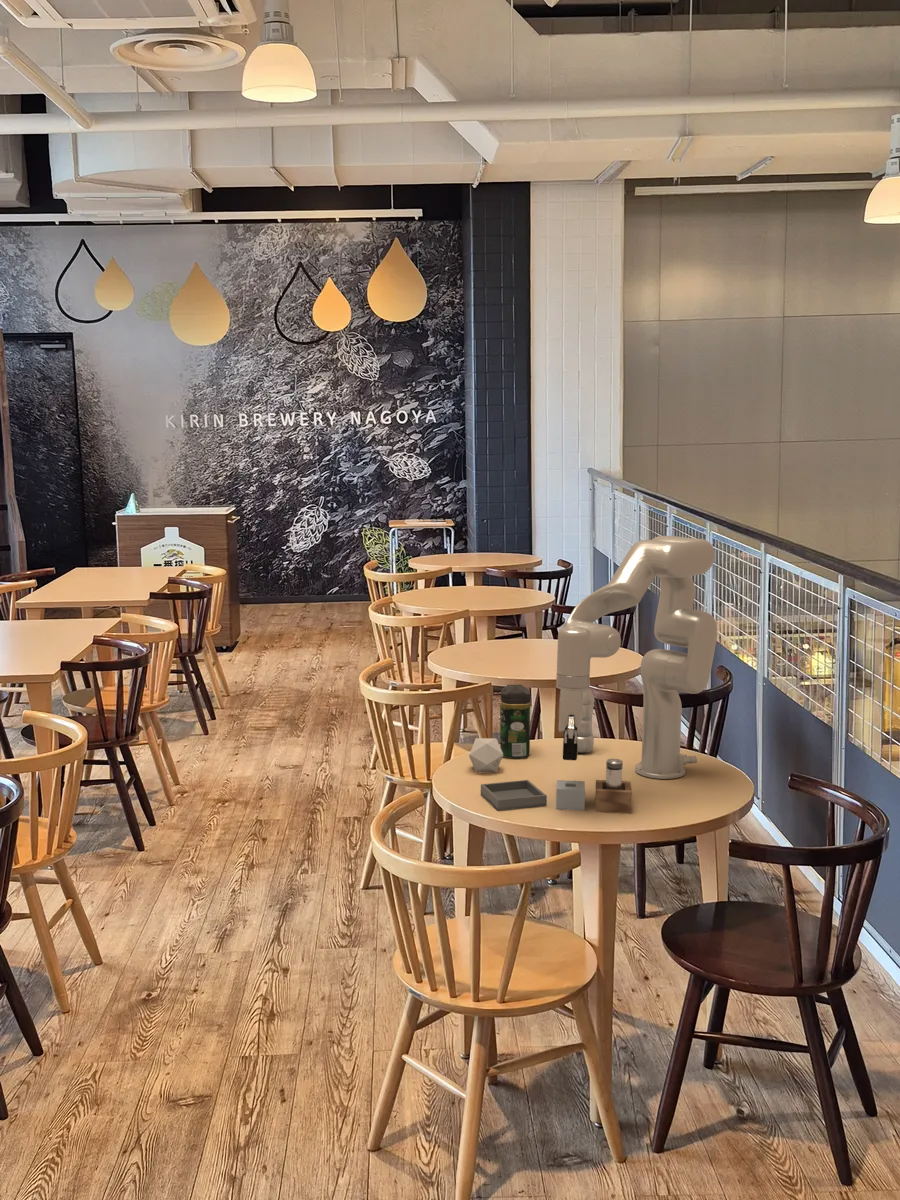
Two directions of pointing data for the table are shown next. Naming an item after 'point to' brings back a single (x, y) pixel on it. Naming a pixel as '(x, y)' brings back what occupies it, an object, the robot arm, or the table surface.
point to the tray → (513, 795)
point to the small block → (570, 795)
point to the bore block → (613, 798)
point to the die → (486, 755)
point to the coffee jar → (515, 721)
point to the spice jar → (614, 774)
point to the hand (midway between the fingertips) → (569, 753)
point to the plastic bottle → (586, 723)
